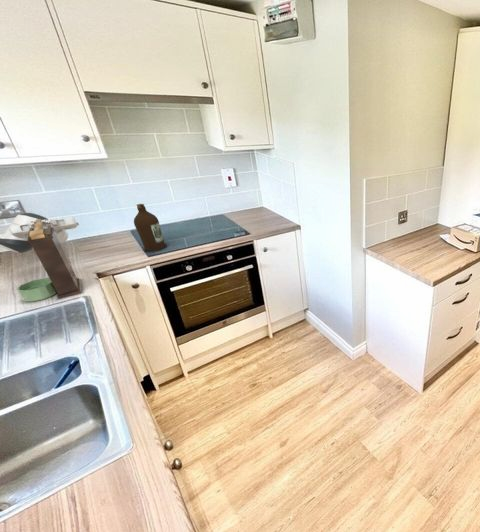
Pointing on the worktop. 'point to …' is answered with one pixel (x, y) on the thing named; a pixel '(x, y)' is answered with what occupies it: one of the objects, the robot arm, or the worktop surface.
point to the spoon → (37, 230)
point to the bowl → (37, 289)
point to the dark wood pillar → (55, 263)
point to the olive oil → (149, 229)
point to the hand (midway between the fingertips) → (40, 222)
